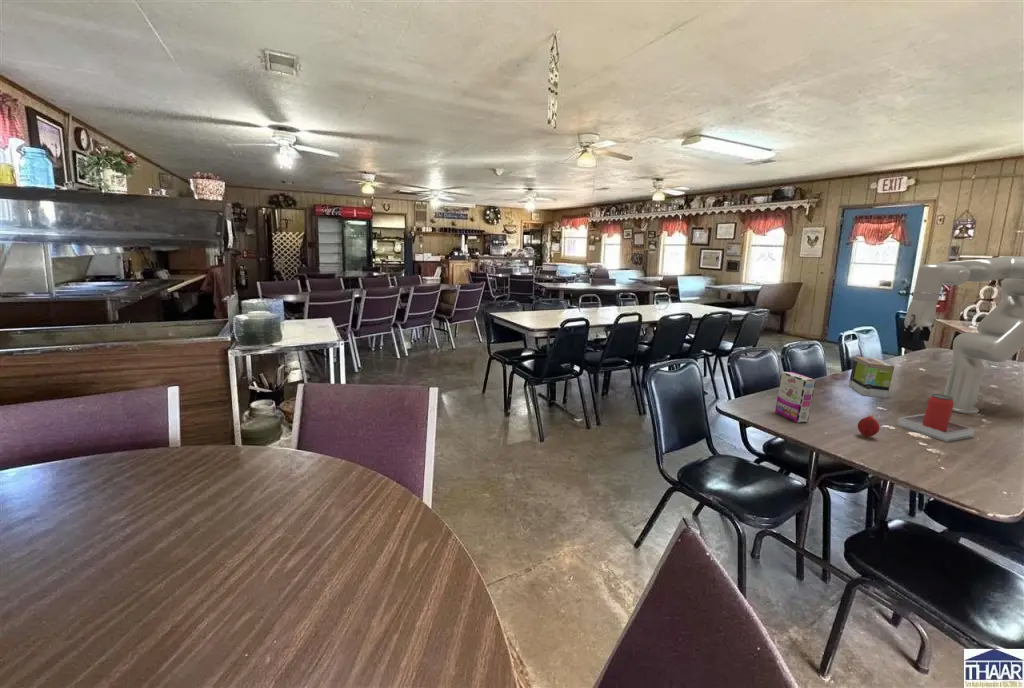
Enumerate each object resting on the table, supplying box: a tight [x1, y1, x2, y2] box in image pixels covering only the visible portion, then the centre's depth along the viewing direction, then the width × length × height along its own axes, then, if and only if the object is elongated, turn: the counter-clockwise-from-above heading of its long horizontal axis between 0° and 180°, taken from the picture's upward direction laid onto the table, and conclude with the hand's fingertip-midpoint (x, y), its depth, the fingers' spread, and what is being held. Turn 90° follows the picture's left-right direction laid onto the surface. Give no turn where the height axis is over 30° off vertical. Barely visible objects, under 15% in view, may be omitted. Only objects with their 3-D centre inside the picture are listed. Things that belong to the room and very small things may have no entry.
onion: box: [857, 414, 880, 438], centre depth 155 cm, size 6×6×8 cm
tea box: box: [848, 356, 895, 399], centre depth 206 cm, size 15×10×15 cm
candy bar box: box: [774, 371, 817, 424], centre depth 170 cm, size 11×5×16 cm, turn 12°
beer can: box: [923, 393, 954, 431], centre depth 162 cm, size 7×7×12 cm
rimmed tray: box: [896, 413, 975, 443], centre depth 163 cm, size 15×15×3 cm
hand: (915, 341), depth 179 cm, fingers open, 9 cm apart
